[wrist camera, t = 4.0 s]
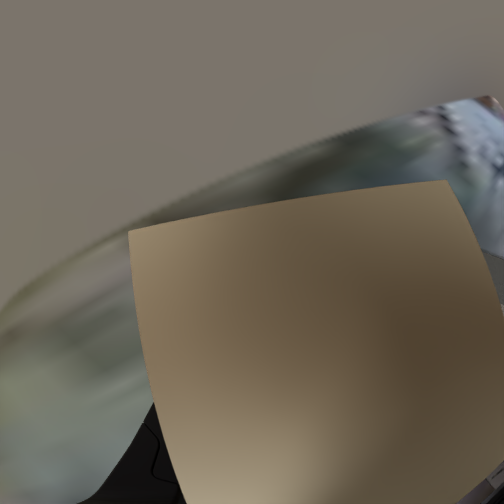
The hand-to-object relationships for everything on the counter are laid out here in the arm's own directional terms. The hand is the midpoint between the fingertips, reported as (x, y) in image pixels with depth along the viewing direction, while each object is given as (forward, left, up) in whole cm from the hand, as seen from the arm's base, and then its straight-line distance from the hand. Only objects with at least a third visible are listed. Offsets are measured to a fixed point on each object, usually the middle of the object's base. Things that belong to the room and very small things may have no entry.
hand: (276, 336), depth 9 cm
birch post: (-1, -1, -7) cm, 7 cm away
